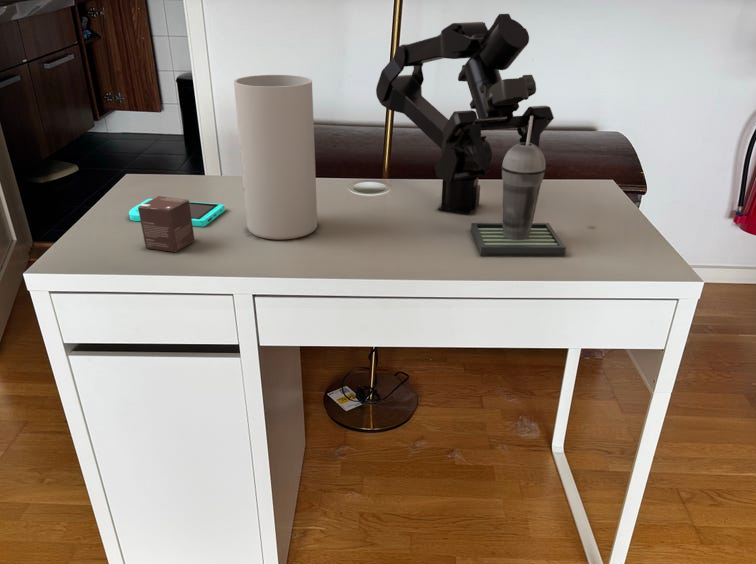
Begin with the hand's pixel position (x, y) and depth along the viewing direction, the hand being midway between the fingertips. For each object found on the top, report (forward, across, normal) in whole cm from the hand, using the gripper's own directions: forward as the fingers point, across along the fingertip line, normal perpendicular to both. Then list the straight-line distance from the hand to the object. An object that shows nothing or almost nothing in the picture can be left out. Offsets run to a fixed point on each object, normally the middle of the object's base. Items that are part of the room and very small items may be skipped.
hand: (512, 168), depth 115 cm
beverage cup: (+10, 0, +5) cm, 11 cm away
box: (-2, -56, +20) cm, 59 cm away
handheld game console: (-13, -53, +30) cm, 63 cm away
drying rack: (+11, 0, +6) cm, 12 cm away
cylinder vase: (-3, -36, +20) cm, 42 cm away
